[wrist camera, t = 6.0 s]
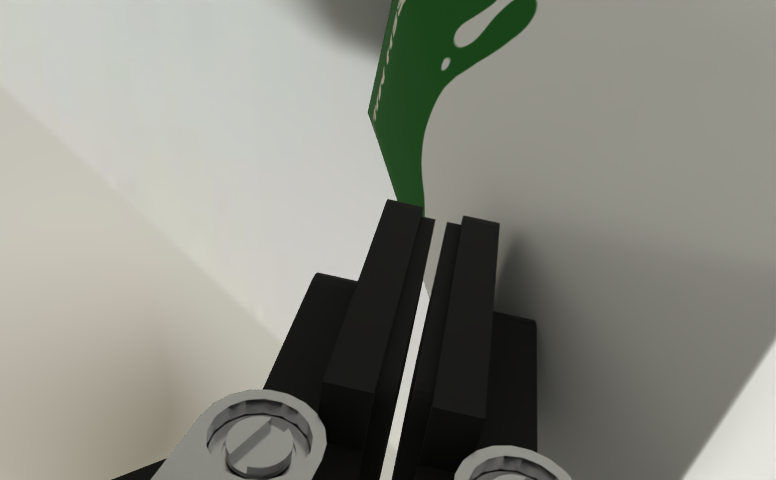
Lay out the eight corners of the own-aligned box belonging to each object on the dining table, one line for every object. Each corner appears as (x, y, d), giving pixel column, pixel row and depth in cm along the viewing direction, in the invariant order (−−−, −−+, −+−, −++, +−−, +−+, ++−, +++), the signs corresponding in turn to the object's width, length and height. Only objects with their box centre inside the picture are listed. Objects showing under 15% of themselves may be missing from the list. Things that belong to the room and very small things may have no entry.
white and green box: (576, 162, 27) (1080, 840, 11) (330, 133, 25) (512, 939, 9) (680, -94, 22) (1847, 439, 6) (387, -161, 20) (1035, 421, 4)
